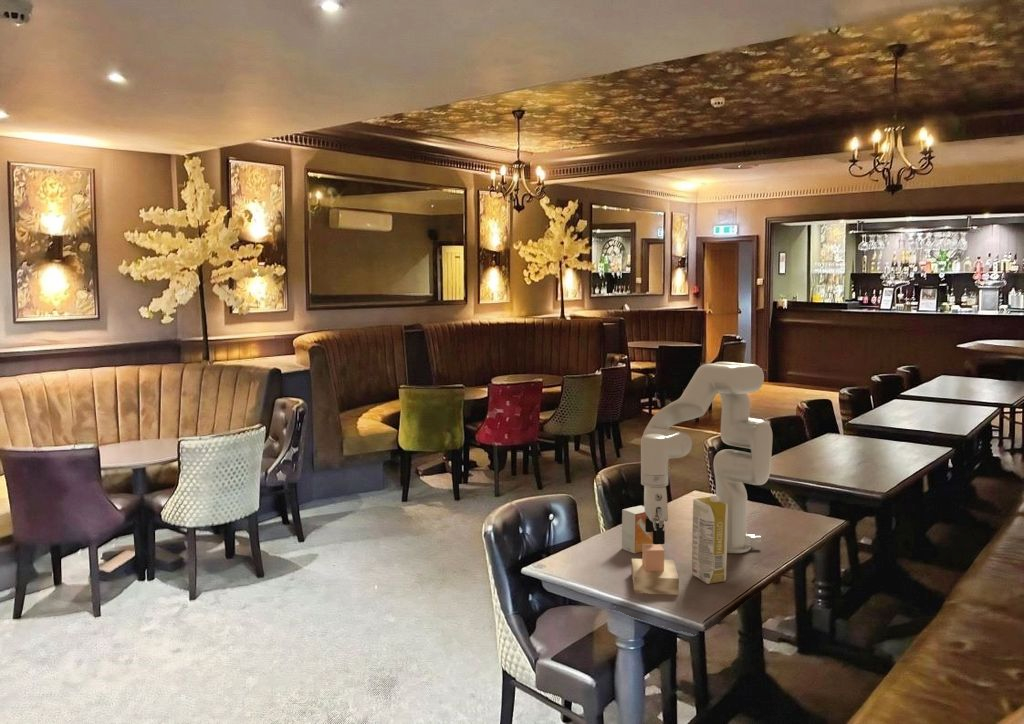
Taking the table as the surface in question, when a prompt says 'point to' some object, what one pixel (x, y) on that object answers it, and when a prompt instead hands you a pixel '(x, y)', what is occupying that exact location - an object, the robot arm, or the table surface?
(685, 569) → the table surface
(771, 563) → the table surface
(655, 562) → the terracotta block
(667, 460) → the robot arm
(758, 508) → the table surface
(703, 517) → the juice carton
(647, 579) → the birch block
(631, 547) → the small box
